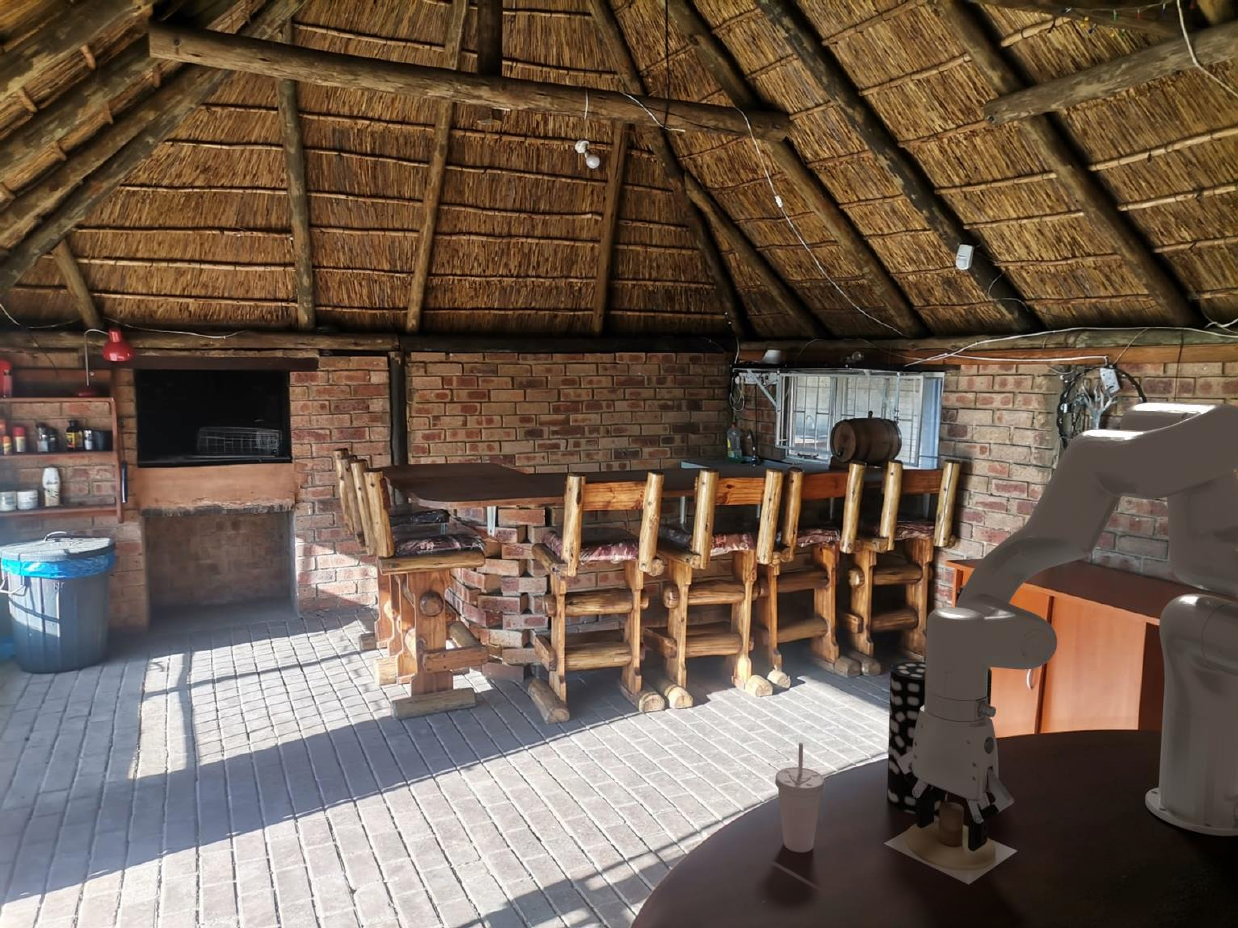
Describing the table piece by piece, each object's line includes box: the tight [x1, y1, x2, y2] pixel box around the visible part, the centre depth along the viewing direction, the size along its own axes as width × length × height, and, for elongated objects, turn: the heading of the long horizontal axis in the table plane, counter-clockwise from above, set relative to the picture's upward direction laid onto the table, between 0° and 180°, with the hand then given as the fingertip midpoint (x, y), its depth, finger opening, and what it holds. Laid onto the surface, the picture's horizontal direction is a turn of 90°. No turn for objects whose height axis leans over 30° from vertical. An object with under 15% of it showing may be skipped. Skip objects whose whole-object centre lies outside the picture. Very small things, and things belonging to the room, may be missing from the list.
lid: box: [906, 801, 996, 870], centre depth 113 cm, size 11×11×6 cm
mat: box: [883, 815, 1018, 885], centre depth 114 cm, size 12×12×1 cm
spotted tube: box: [886, 661, 948, 815], centre depth 126 cm, size 8×8×20 cm
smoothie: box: [774, 742, 825, 853], centre depth 114 cm, size 6×6×14 cm
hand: (950, 834), depth 113 cm, fingers open, 6 cm apart
